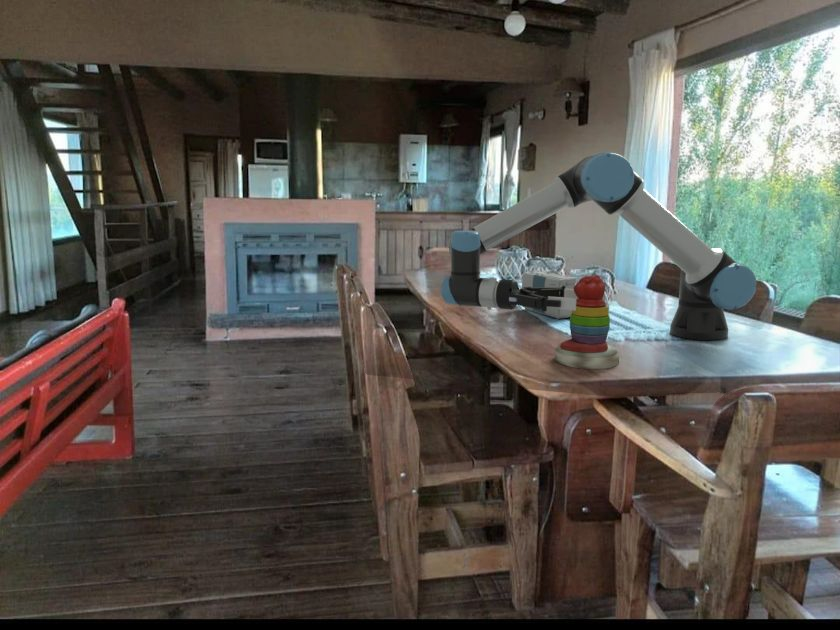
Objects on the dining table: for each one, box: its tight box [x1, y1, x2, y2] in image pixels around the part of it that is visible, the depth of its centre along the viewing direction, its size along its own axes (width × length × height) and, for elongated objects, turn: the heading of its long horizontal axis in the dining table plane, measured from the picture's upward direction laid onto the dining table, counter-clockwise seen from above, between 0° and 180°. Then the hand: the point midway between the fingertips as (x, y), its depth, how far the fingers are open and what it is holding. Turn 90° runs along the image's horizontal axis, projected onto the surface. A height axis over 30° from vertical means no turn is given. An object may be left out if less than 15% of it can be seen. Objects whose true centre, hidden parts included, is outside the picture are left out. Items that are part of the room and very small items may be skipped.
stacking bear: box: [559, 274, 611, 353], centre depth 154 cm, size 11×10×18 cm
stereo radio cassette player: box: [521, 256, 578, 320], centre depth 213 cm, size 21×8×20 cm, turn 24°
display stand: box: [554, 344, 620, 370], centre depth 155 cm, size 15×15×3 cm
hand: (583, 300), depth 153 cm, fingers open, 13 cm apart
